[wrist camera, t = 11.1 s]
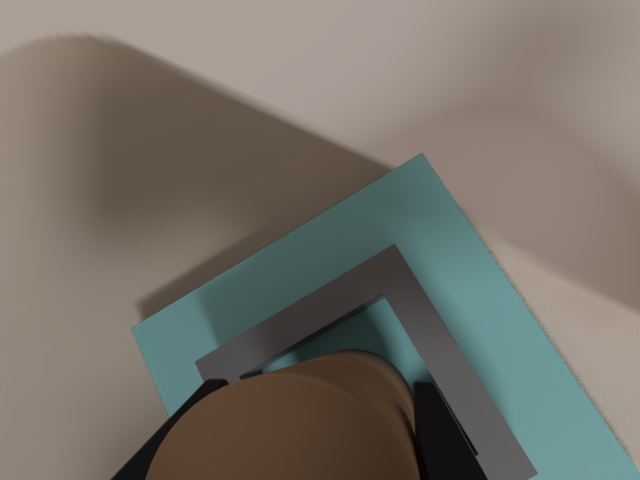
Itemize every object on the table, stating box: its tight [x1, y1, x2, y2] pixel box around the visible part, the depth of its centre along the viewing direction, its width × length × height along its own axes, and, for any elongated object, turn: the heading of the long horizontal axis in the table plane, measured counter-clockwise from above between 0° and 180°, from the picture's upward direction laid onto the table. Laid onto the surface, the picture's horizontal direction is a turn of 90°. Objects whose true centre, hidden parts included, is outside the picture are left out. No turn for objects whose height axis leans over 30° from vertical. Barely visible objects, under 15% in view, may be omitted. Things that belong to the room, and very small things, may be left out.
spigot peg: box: [145, 349, 421, 480], centre depth 11 cm, size 4×4×10 cm
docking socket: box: [131, 153, 640, 480], centre depth 16 cm, size 14×14×4 cm
